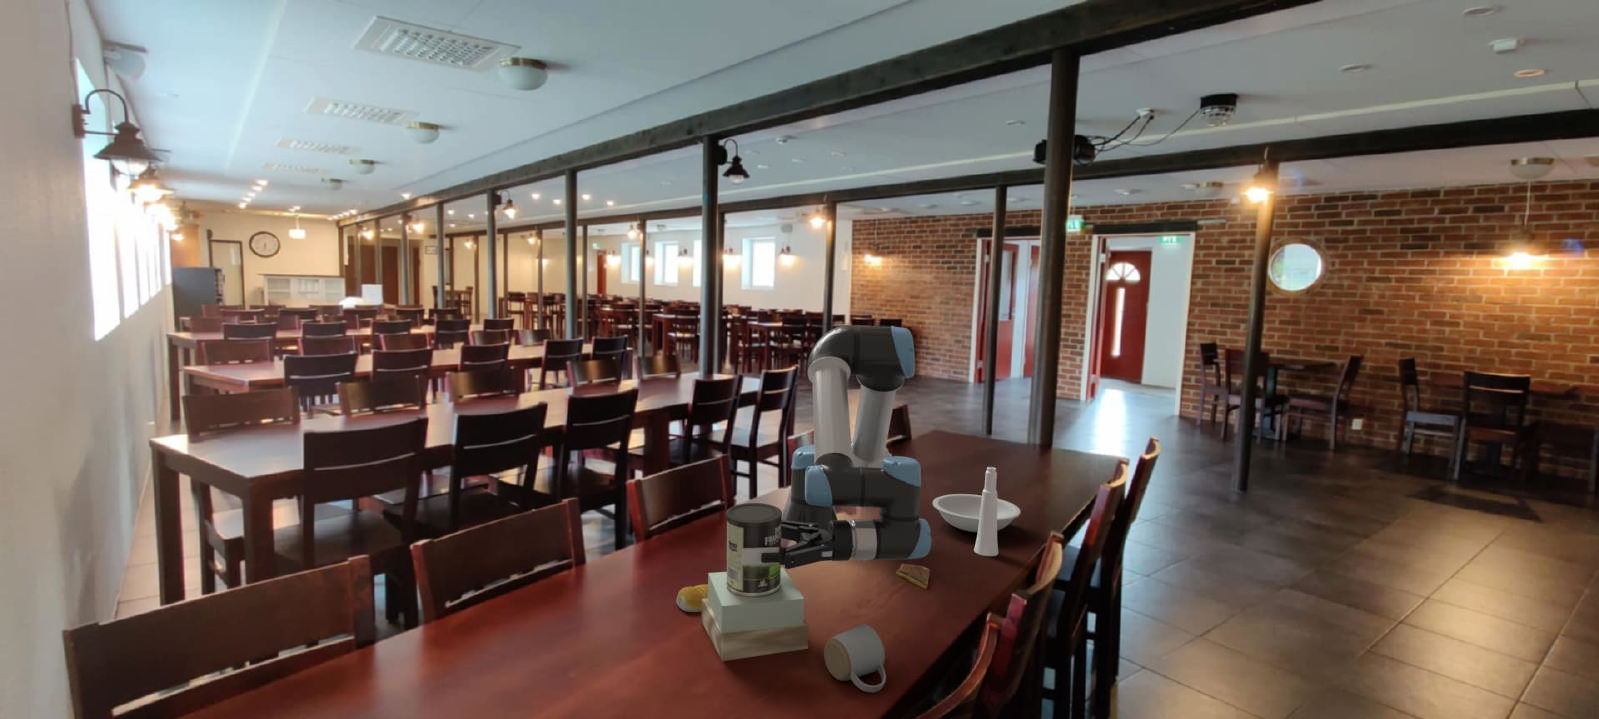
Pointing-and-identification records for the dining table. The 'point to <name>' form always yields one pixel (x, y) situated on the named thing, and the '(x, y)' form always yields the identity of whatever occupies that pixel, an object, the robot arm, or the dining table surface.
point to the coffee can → (752, 530)
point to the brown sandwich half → (915, 574)
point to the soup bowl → (972, 511)
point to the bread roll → (692, 598)
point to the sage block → (755, 606)
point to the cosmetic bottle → (988, 517)
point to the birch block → (753, 638)
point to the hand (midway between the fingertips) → (737, 543)
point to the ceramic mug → (856, 656)
